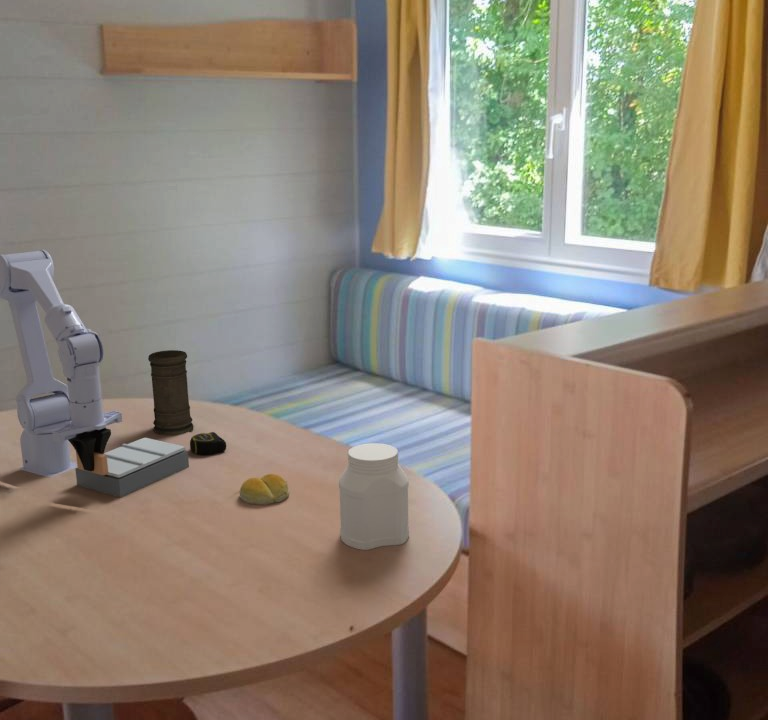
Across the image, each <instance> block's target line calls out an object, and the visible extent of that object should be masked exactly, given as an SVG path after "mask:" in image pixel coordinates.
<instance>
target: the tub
mask: <svg viewBox="0 0 768 720" xmlns="http://www.w3.org/2000/svg"><path fill="white" fill-rule="evenodd" d="M189 463H190V462H189V451H188V450H183V451H181V452H179V453H176V454H174V455H172V456H170V457H168V458H166V459H163V460H161V461H159V462H156V463H154V464H152V465H149V466H147V467H145V468H141V469H139V470H136V471H134V472H132V473H129V474H127V475H125V476H122V477H120V478H118V477H114V476H110V475H107V474H106V475H104V476H103V475H99V474H96V473H92V472H88V471H84V470H81V469H78V467H75V468H74V469H75V477H76V479H75V480H76V485H77V486H79V487H83V488H86V489H90V490H92V491H93V490H94V491H96V492H100V493H102V494H107V495H110V496H114V497H118V498H123V497H125V496H128V495H130V494H132V493H134V492H136V491H138V490H140V489H143V488H145V487H148V486H150V485H153V484H155V483H156V482H159V481H161V480H163V479H166V478H167V477H170V476H173V475H175V474H176V473H179V472H181V471H183V470H185V469H188V468H189V467H190V464H189Z"/></svg>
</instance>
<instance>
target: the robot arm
mask: <svg viewBox="0 0 768 720" xmlns="http://www.w3.org/2000/svg"><path fill="white" fill-rule="evenodd" d="M54 266H55V265H54V261H53V258H52V256H51V254H50V253H49V252H48V251H47V250H46V249H40V250H36V251H27V252H19V253H10V254H9V253H8V254H2V253H1V254H0V299H2V300H5V301H7V302H8V305H9V310H10V313H11V317H12V322H13V325H14V329H15V334H16V339H17V344H18V346H19V350H20V355H21V359H22V364H23V369H24V373H25V377H26V380H27V382H26V384H25V385H24V386H23V387H22V388H21V389H20V390H19V392H18V393H17V394H16V396H15V397H16V399H15V400H16V405H17V410H16V412H17V413H16V414H17V418H18V422H19V424H20V426H21V428H22V429H23V431H22V433H21V435H20V438H19V440H20V443H19V444H20V449H21V450H20V451H21V452H20V453H21V459H22V467H20V468H19V471H25V472H29V473H32V474H36V475H39V476H43V477H46V478H51V477H55V476H58V475H60V474H63V473H65V472H68V471H71V470H72V469H75V468H78V467H77V462H74V461H72V457H71V448H70V447H71V446H72V447H73V448H74V450H75V453H76V452H77V454H78V456H79V458H80V460H81V463H82V465H83V468H84V470H87V471H94V452H96V453H100V454H104V453H105V451H106V447H107V444H108V441H109V439H110V438H111V436H112V430H111V429H110V428H107V426H110V425H113V424H115V423H117V424H120V423H122V422H123V415H122V414H123V413H122V411H118V410H111V411H108V412H104V409H103V407H104V406H103V397H102V384H101V375H100V366H99V363H102V361H103V359H104V346H103V342H102V340H101V338H100V336H99V334H98V333H97V332H96V331H93V330H92V329H91V328H86V326H85V325H84V323H83V321H82V319H81V318H80V317H79V315H78V313H77V311H76V310H75V308H74V307H73V306H72V305H70V304H65V302H64V301H63V299H62V296H61V294H60V291H59V290H58V288H57V286H56V284H55V282H54V275H55V267H54ZM37 303H38V304H39V306H40V307H41V308H42V309H43V311H44V312H45V316H44V323H45V325H46V326H47V328H48V330H49V332H50V333H51V335H52V337H53V339H54V341H55V342H56V344H57V345H58V350H57V352H58V358H59V361H60V364H61V366H62V367H61V368H62V373H63V375H64V377H65V378H66V381H67V382H66V383H67V384H66V383H64V382H62V381H60V380H59V379H56V378H55V377H54V375H53V371H52V367H51V361H50V357H49V354H48V349H47V344H46V341H45V337H44V331H43V328H42V324H41V319H40V314H39V310H38V307H37ZM50 393H52V394H50ZM44 394H49V395H44ZM39 395H44V396H39ZM35 396H39V397H35ZM33 397H34V398H33ZM70 444H71V446H70Z"/></svg>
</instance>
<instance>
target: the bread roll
mask: <svg viewBox="0 0 768 720" xmlns="http://www.w3.org/2000/svg"><path fill="white" fill-rule="evenodd" d="M288 485H289V484H288V483H287V481H286V480H285V479H284V478H283V477H282V476H280V475H279V474H274V473H269V474H268V473H267V474H266V475H264V476H261V478H259V477H251V478H248V479H246V480H245V481H244V482H243V483H242V485H241V487H240V490H239V498H240V499H241V500H242V501H243V502H245V503H247V504H252V505H258V506H259V505H260V506H261V505H268V504H272V503H279V502H282V501H284V500H286V499H287V498H288V497H289V496H290V494H291V493H290V491H289V487H288Z"/></svg>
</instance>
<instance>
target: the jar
mask: <svg viewBox="0 0 768 720" xmlns="http://www.w3.org/2000/svg"><path fill="white" fill-rule="evenodd" d="M347 463H348V464H347V466H346V467H345V469H344V471H343V472H342V474H341V475H340V477H339V478H338V489H339V510H340V511H339V513H340V529H339V530H340V531H339V533H340V539H341V542H342V543H344V544H345V545H347V546H348V547H351V548H353V549H356V550H360V551H368V550H373V549H377V548H381V547H388V546H400V545H403V544H404V543H406V542H407V541H408V539H409V536H410V526H409V477H408V475H407V474H406V472H405V471H404V470H403V468H402V467H401V466H400V464H399V450H398V448H396V447H395V446H393V445H390V444H386V443H378V442H375V443H372V442H371V443H363V444H362V443H361V444H358V445H354V446H353V447H351V448H350V449H349V450H347Z"/></svg>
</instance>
